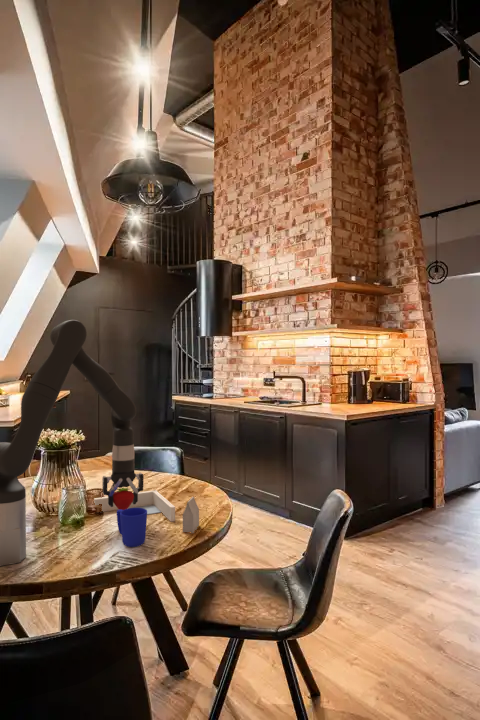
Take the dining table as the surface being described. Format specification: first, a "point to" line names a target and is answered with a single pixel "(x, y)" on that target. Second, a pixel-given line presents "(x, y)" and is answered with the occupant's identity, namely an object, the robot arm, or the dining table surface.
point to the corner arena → (145, 499)
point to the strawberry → (123, 498)
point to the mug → (132, 526)
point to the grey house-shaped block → (191, 516)
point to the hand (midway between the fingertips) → (123, 505)
